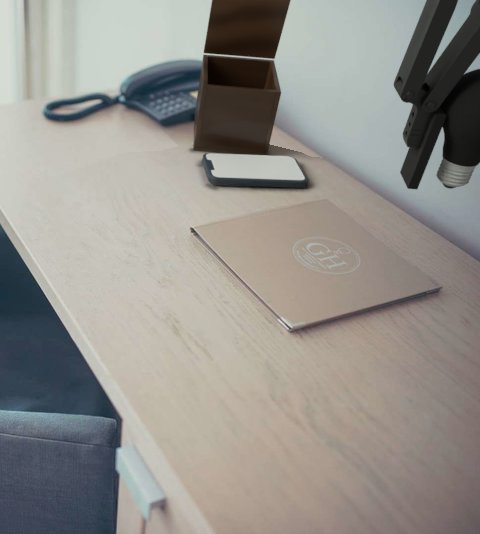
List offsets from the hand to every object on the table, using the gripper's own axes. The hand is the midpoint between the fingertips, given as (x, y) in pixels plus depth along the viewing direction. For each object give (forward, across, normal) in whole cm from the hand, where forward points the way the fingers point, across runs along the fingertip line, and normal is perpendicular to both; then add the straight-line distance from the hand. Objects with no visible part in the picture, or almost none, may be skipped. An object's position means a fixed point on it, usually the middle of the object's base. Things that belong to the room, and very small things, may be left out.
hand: (449, 183), depth 53 cm
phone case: (+26, -9, +46) cm, 54 cm away
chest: (+26, -12, +60) cm, 67 cm away
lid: (+7, -12, +65) cm, 66 cm away
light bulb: (+1, 0, 0) cm, 1 cm away
